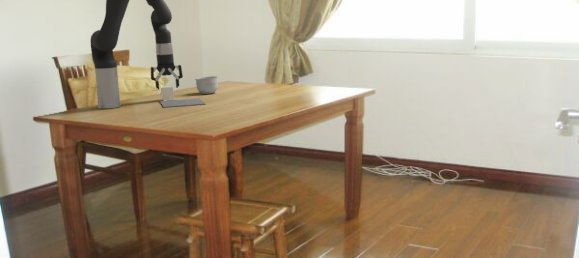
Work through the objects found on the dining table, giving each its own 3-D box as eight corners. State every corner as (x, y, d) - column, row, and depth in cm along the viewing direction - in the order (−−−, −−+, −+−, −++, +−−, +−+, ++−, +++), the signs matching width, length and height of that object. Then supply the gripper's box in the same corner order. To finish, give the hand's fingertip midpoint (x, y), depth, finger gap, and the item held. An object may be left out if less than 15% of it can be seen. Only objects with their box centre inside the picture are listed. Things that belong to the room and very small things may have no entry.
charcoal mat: (163, 107, 256) (163, 106, 256) (159, 101, 273) (159, 101, 273) (205, 104, 261) (205, 103, 261) (199, 99, 278) (199, 98, 278)
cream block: (162, 101, 276) (161, 88, 275) (161, 99, 281) (160, 86, 279) (173, 100, 277) (172, 87, 276) (172, 98, 282) (171, 86, 281)
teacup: (207, 95, 290) (206, 78, 288) (191, 94, 296) (190, 77, 294) (227, 91, 300) (226, 75, 299) (211, 90, 307) (210, 74, 305)
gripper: (149, 55, 269) (152, 90, 273) (181, 52, 273) (184, 88, 276) (148, 53, 276) (151, 88, 280) (179, 51, 280) (182, 86, 283)
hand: (167, 88), depth 278 cm, fingers open, 8 cm apart
